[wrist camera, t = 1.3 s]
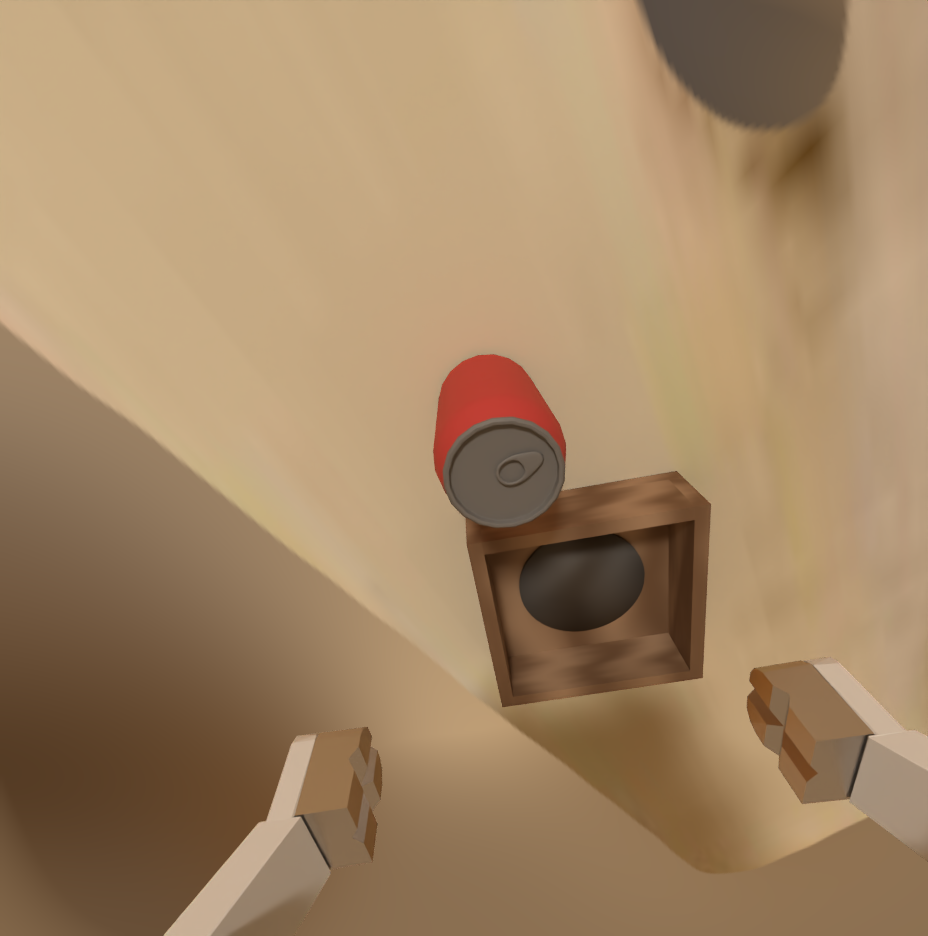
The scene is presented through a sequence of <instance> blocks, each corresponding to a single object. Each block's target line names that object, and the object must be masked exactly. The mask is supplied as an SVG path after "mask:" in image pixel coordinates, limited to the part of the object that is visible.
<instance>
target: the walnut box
mask: <svg viewBox="0 0 928 936" xmlns="http://www.w3.org/2000/svg"><path fill="white" fill-rule="evenodd" d="M710 513H711V504H710V503H709V502H708V501H707V500H706V499H705V498H704V497H703V496H702V495H701V494H700V493H699V492H698V491H697V490H696V489H695V488H694V487H693V486H691V485H690V484H689V483H688V482H687V481H686V480H685V479H684V478H683V477H682V476H681V475H680V474H679V473H678V472H677V471H675V472H669V473H663V474H657V475H652V476H646V477H640V478H634V479H628V480H623V481H617V482H611V483H605V484H599V485H594V486H588V487H582V488H576V489H571V490H565V491H560V494H559V496H558V498H557V499H556V500H555V502H554V503H553V504H552V505H551V507H550V508H549V509H548V510H547V511H546V512H545V513H543V514H542V515H540V516H539V517H537V518H536V519H534V520H533V521H531V522H528V523H525V524H522V525H519V526H516V527H509V528H493V527H488V526H483V525H479V524H477V523H475V522H473V521H471V520H469V519H468V518H466V537H467V548H468V552H469V557H470V562H471V566H472V571H473V575H474V580H475V584H476V589H477V593H478V598H479V602H480V607H481V612H482V616H483V621H484V625H485V630H486V634H487V639H488V643H489V648H490V652H491V657H492V662H493V666H494V671H495V675H496V680H497V684H498V689H499V693H500V698H501V702H502V707H506V706H513V705H520V704H527V703H534V702H541V701H548V700H554V699H561V698H568V697H575V696H582V695H589V694H596V693H603V692H609V691H616V690H623V689H630V688H637V687H644V686H651V685H657V684H664V683H671V682H678V681H685V680H692V679H699V678H703V658H704V637H705V617H706V596H707V575H708V554H709V533H710Z"/></svg>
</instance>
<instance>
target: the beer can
mask: <svg viewBox="0 0 928 936" xmlns="http://www.w3.org/2000/svg"><path fill="white" fill-rule="evenodd" d="M433 453H434V464H435V471H436V473H437V476H438V478H439V480H440V482H441V484H442V487H443V489H444V491H445V493H446V494H447V495H448V498H449V500H450V502H451V504H452V505H453V506H454V507H455V508H456V509H457V510H458V511H459V512H460V513H461V514H462V515H463V516H464V517H466V518H468V519H469V520H471V521H473V522H475V523H477V524H479V525H483V526H488V527H493V528H509V527H516V526H519V525H522V524H525V523H528V522H531V521H533V520H534V519H536V518H537V517H539V516H540V515H542V514H543V513H545V512H546V511H547V510H548V509H549V508H550V507H551V505H552V504H553V503H554V502H555V500H556V499H557V498H558V496H559V494H560V491H561V489H562V486H563V484H564V481H565V459H566V443H565V439H564V436H563V433H562V430H561V427H560V424H559V423H558V421H557V419H556V418H555V416H554V415H553V413H552V412H551V410H550V408H549V407H548V405H547V404H546V402H545V400H544V399H543V397H542V396H541V394H540V393H539V391H538V389H537V388H536V386H535V385H534V383H533V381H532V380H531V378H530V377H529V376H528V374H527V373H526V372H525V371H524V369H523V368H522V367H521V366H520V365H518V364H517V363H515V362H514V361H512V360H511V359H509V358H505V357H502V356H498V355H494V354H492V355H477V356H475V357H472V358H470V359H467V360H465V361H463V362H461V363H460V364H459V365H458V366H457V367H455V368H454V369H453V370H452V371H451V372H450V373H449V375H448V376H447V378H446V380H445V381H444V383H443V384H442V388H441V392H440V396H439V402H438V412H437V421H436V431H435V440H434V450H433Z"/></svg>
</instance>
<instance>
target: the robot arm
mask: <svg viewBox="0 0 928 936" xmlns="http://www.w3.org/2000/svg"><path fill="white" fill-rule="evenodd" d="M749 681H750V683H751V684H752V686H753V687H754V688H755V689H754V690H753V691H752V692H751V693H750V694H749V695H748V696H747V711H748V714H749V718H750V722H751V724H752V726H753V728H754V730H755V732H756V734H757V736H758V737H759V739H760V740H761V742H762V744H763V745H764V746H765V747H767V748H768V749H770V750H771V751H773V752H774V753H776V754H777V755H779V767H778V768H779V770H780V771H781V773H782V774H783V776H784V777H785V779H786V780H787V782H788V783H789V785H790V786H791V788H792V789H793V791H794V792H795V794H796V795H797V797H798V798H799V800H800V802H801V803H802V804H807V803H816V802H826V801H835V800H845V799H850V801H849V802H850V803H851V804H853V805H854V806H855V807H857V808H858V809H859V810H861V811H862V812H863V813H865V814H866V815H867V816H868V817H870V818H871V819H872V820H874V821H875V822H876V823H878V824H879V825H880V826H882V827H883V828H884V829H885V830H887V831H888V832H889V833H891V834H892V835H893V836H895V837H896V838H897V839H899V840H900V841H901V842H903V843H904V844H905V845H906V846H908V847H909V848H910V849H912V850H913V851H914V852H916V853H917V854H918V855H920V856H921V857H922V858H924V859H925V860H926V861H928V736H926V735H924V734H922V733H920V732H919V731H917V730H905V729H904V728H903V727H902V726H901V724H900V723H899V722H898V721H897V720H896V719H895V718H894V717H893V716H892V715H891V714H890V713H889V712H888V711H887V710H886V709H885V708H884V707H883V706H882V705H881V704H880V703H879V702H878V701H877V700H876V699H875V698H874V697H873V696H872V695H871V694H870V693H869V692H868V691H867V690H866V689H865V688H864V687H863V686H862V685H861V684H860V683H859V682H858V681H857V680H856V679H855V678H854V677H853V676H852V675H851V674H850V673H849V672H848V671H847V670H846V669H845V668H844V667H843V666H842V665H841V664H840V663H839V662H838V661H837V660H835V659H833V658H831V657H824V658H818V659H812V660H806V661H795V662H789V663H782V664H776V665H770V666H764V667H758V668H754V669H753V670H752V671H751V672H750V679H749ZM371 740H372V736H371V733H370V731H369V729H368V727H362V728H354V729H346V730H339V731H331V732H323V733H314V734H307V735H300V736H297V737H296V739H295V740H294V741H293V743H292V744H291V747H290V750H289V753H288V756H287V759H286V762H285V766H284V768H283V772H282V775H281V778H280V781H279V784H278V787H277V790H276V793H275V796H274V799H273V802H272V805H271V808H270V811H269V815H268V817H267V820H266V821H263V822H259V823H258V824H257V825H256V827H255V828H254V829H253V830H252V831H251V833H250V834H249V835H248V836H247V837H246V839H245V840H244V841H243V842H242V843H241V844H240V846H239V847H238V848H237V849H236V850H235V851H234V853H233V854H232V855H231V856H230V857H229V859H228V860H227V861H226V862H225V863H224V864H223V866H222V867H221V868H220V869H219V870H218V872H217V873H216V874H215V875H214V876H213V878H212V879H211V880H210V881H209V882H208V883H207V885H206V886H205V887H204V888H203V889H202V891H201V892H200V893H199V894H198V895H197V896H196V898H195V899H194V900H193V901H192V903H191V904H190V905H189V906H188V907H187V909H186V910H185V911H184V912H183V913H182V914H181V915H180V917H179V918H178V919H177V920H176V921H175V923H174V924H173V925H172V926H171V927H170V929H169V930H168V931H167V932H166V933H165V934H164V936H295V934H296V932H297V931H298V929H299V927H300V926H301V924H302V922H303V921H304V919H305V917H306V915H307V914H308V912H309V910H310V908H311V907H312V905H313V903H314V901H315V900H316V898H317V896H318V894H319V893H320V891H321V889H322V887H323V886H324V884H325V882H326V880H327V879H328V877H329V875H330V874H331V871H330V870H331V869H336V868H342V867H348V866H354V865H360V864H366V863H372V862H373V856H374V847H375V840H376V833H377V822H376V819H375V817H374V814H373V810H374V809H375V807H376V806H377V804H378V803H379V801H380V800H381V791H382V766H381V760H380V756H379V754H378V751H377V750H376V749H374V748H373V747H371Z"/></svg>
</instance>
